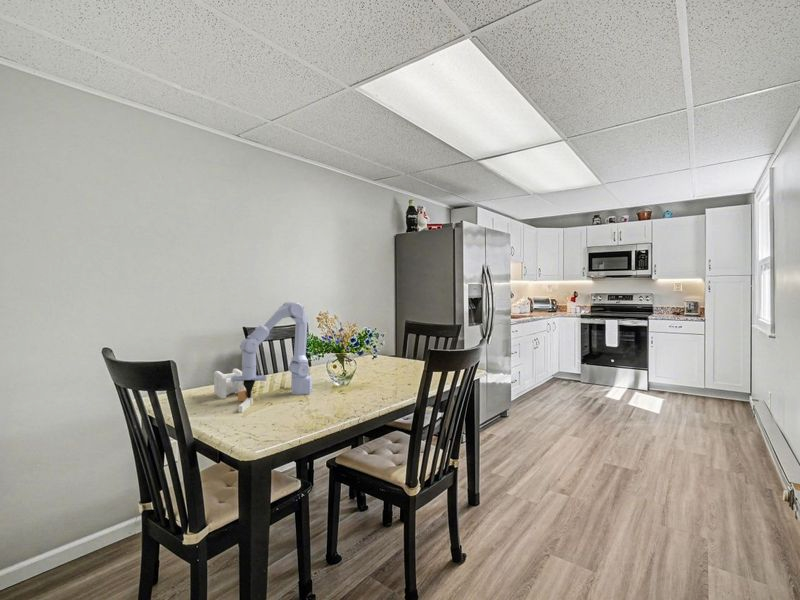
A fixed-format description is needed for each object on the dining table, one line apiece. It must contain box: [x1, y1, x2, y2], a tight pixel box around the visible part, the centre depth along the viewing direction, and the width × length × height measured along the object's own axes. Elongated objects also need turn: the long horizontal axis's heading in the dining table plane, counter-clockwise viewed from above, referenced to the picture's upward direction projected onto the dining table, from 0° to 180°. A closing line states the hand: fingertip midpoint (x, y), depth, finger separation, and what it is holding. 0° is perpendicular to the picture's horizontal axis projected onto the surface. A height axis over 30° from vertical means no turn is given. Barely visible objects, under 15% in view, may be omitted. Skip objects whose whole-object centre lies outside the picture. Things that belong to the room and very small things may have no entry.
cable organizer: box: [213, 368, 245, 400], centre depth 191 cm, size 15×11×12 cm
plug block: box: [237, 389, 253, 402], centre depth 181 cm, size 4×4×4 cm
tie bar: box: [237, 397, 254, 413], centre depth 169 cm, size 2×12×2 cm, turn 2°
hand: (249, 397), depth 179 cm, fingers closed, pressing on plug block
